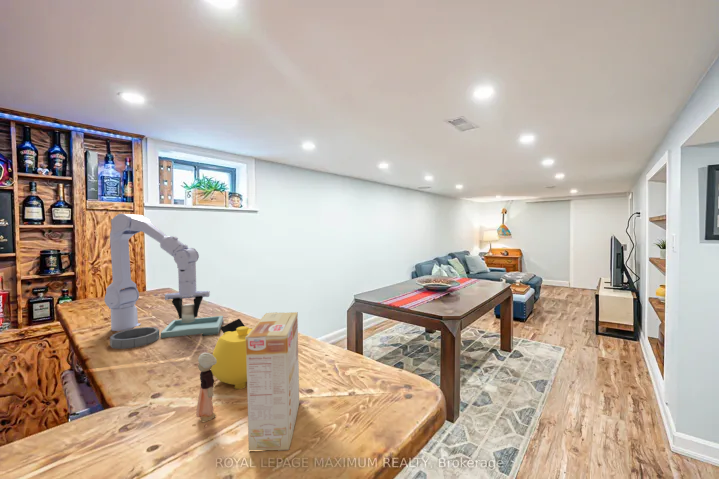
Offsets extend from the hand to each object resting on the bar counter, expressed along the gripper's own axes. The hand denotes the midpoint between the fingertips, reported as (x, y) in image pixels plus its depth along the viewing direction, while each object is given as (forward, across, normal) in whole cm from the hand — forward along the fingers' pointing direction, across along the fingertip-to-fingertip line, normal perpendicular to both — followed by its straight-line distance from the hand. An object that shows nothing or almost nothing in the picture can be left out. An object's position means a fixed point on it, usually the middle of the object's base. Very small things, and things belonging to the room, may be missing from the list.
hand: (188, 317), depth 115 cm
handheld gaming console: (+6, +19, -16) cm, 26 cm away
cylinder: (+1, 0, 0) cm, 1 cm away
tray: (+5, +2, 0) cm, 5 cm away
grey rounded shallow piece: (+5, -14, -9) cm, 17 cm away
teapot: (+5, +22, -48) cm, 53 cm away
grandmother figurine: (+5, +15, -62) cm, 64 cm away
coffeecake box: (+5, +28, -69) cm, 75 cm away
